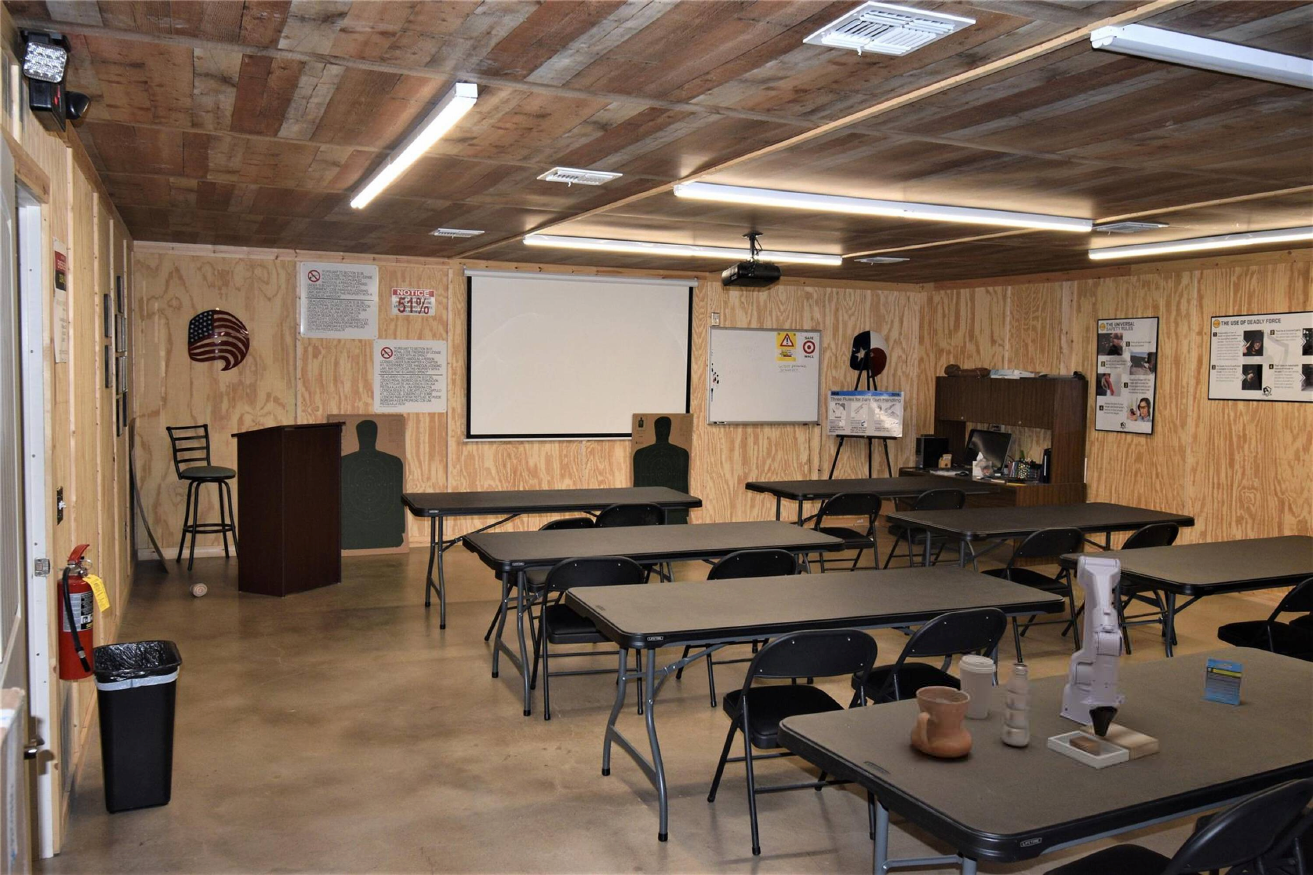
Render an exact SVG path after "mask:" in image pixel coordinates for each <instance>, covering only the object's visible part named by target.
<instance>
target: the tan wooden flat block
mask: <svg viewBox="0 0 1313 875" xmlns="http://www.w3.org/2000/svg"><path fill="white" fill-rule="evenodd" d="M1079 731H1080V732H1083V733H1086V734H1088V735H1091V736H1093V737H1096V738H1098V739H1101V740H1103V741H1106V742H1109V743H1111V744H1114V745H1116V746H1119V747H1121V748H1124V749H1126V750H1129V760H1130V761H1131V760H1135V759H1137V758H1140V757H1146V756H1148V755H1151V754H1152V755H1153V754H1156V753H1158V752H1159V742H1160V740H1159V739H1157V738H1154V737H1152V736H1148V735H1146V734H1143V733H1141V732H1138V731H1135V730H1133V729H1131V728H1130V729H1129V728H1127V727H1125V726H1122V725H1119V724H1116V723H1114V722H1111V723H1110V725H1109V728H1108V731H1107V734H1106V736H1104V737H1101V736H1098V735H1095V732H1094V726H1093V725H1089V726H1087V725H1085V726H1083V727H1079ZM1129 760H1128V761H1129Z"/></svg>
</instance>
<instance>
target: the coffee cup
mask: <svg viewBox="0 0 1313 875" xmlns="http://www.w3.org/2000/svg"><path fill="white" fill-rule="evenodd" d="M958 667H959V668H960V670H959V671H960V691H963V692H965V693H967V694H968V695H969V697H970V702H969V706H968V709H967V712H966V714H965V717H966V718H969V719H974V720H983V719H986V718H987V717H988V713H989V712H988V710H989V705H990V699H991V694H992V686H993V681H994V680H993V679H994V674H995V672H996V671H997V667H996V664H994V660H993V659H991V658H989V657H986V656H981V655H972V654H971V655H969V654H968V655H964V656H962V658H961V660H960V661H959V662H958Z"/></svg>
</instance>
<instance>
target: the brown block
mask: <svg viewBox="0 0 1313 875" xmlns="http://www.w3.org/2000/svg"><path fill="white" fill-rule="evenodd" d="M1069 746H1072V747H1074V748H1076V749H1079V750H1081V751H1084V752H1086V753H1089V754H1091V755H1094V756H1099V755H1100V751H1101V743H1100V742H1097V741H1095V740H1093V739H1090V738H1088V737H1085V736H1080V737H1076V738H1071V739H1070V741H1069Z"/></svg>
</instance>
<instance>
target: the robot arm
mask: <svg viewBox="0 0 1313 875" xmlns="http://www.w3.org/2000/svg"><path fill="white" fill-rule="evenodd" d="M1076 569H1077V573H1076V582H1077V585H1078V586H1079V587H1081V588H1083V590H1084V594H1085V596H1084V598H1085V600H1084V613H1083V615H1084V618H1083V631H1082V632H1083V634H1082V635H1083V636H1082V648H1081V649H1079V650H1078V651H1076V652H1074V653H1073V654H1072V655H1071V657H1070V663H1069V668H1068V680H1069V683H1067V684H1066V685H1065V687H1064V690H1063V693H1062V695H1063V696H1062V707H1061V712H1060V714H1059V715H1060V716H1061V717H1063V718H1067V719H1069V720H1072V721H1074V722H1075V723H1079V724H1082V725H1085V726H1089V725H1093V726H1094V732H1095V735H1098V736H1101V737H1104V736H1106V734H1107V731H1108V728H1109V725H1110V723H1112V721H1113V719H1114V717H1115V716H1116V715H1117V714H1118V710H1119V709H1118V708H1117V707H1120V704H1122V705H1123V704H1125V699H1126V696H1125V695H1123V694H1122V693H1118V692H1117V689H1118V677H1119V668H1120V667H1119V665H1120V664H1119V662H1120V658H1122V656H1123V651H1124V638H1123V634H1122V632H1121V630H1120V629H1119V619H1118V612H1117V610H1116V609H1115V608H1113V607H1112V601H1113V600H1112V598H1113V597H1112V596H1113V594H1112V592H1113V590H1112V589H1115V587H1116V586H1117V585H1118V583H1119V581H1120V580H1121V574H1122V573H1121V572H1122V566H1121V561H1120V560H1119V559H1118V558H1106V557H1105V558H1104V557H1092V556H1084V555H1081V556H1080V557H1079V558H1078V561H1077V568H1076Z"/></svg>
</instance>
